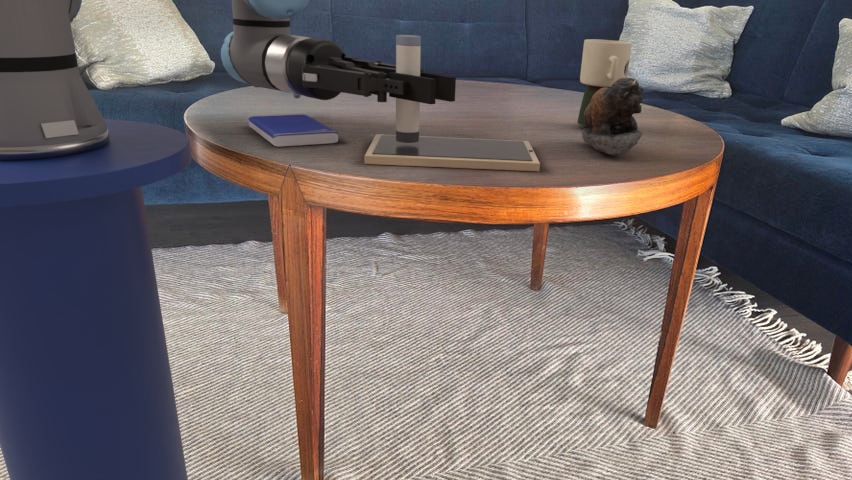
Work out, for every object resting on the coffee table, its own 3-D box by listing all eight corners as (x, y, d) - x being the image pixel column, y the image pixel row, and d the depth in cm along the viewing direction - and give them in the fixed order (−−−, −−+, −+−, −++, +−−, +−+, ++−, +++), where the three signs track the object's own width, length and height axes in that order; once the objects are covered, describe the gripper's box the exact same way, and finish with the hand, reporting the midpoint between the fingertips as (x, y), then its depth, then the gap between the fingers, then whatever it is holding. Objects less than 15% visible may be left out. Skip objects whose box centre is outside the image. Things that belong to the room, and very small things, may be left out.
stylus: (391, 139, 78) (391, 34, 74) (410, 137, 80) (411, 34, 75) (404, 143, 76) (405, 36, 72) (423, 141, 78) (425, 36, 73)
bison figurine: (570, 141, 91) (578, 67, 87) (618, 142, 92) (628, 69, 88) (595, 162, 80) (605, 78, 76) (649, 163, 81) (662, 80, 77)
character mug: (629, 136, 97) (643, 45, 92) (583, 134, 96) (594, 42, 91) (609, 122, 107) (620, 39, 102) (567, 121, 106) (576, 37, 101)
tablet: (364, 164, 73) (364, 154, 72) (376, 141, 84) (376, 133, 84) (539, 171, 74) (540, 162, 74) (528, 148, 85) (528, 140, 85)
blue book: (338, 130, 81) (307, 113, 91) (272, 134, 77) (247, 116, 87) (338, 142, 82) (308, 124, 92) (273, 147, 78) (248, 127, 88)
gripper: (354, 92, 93) (484, 116, 80) (259, 101, 81) (393, 132, 68) (353, 37, 90) (487, 53, 77) (254, 38, 78) (393, 58, 65)
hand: (443, 90), depth 73 cm, fingers closed on stylus, 3 cm apart
